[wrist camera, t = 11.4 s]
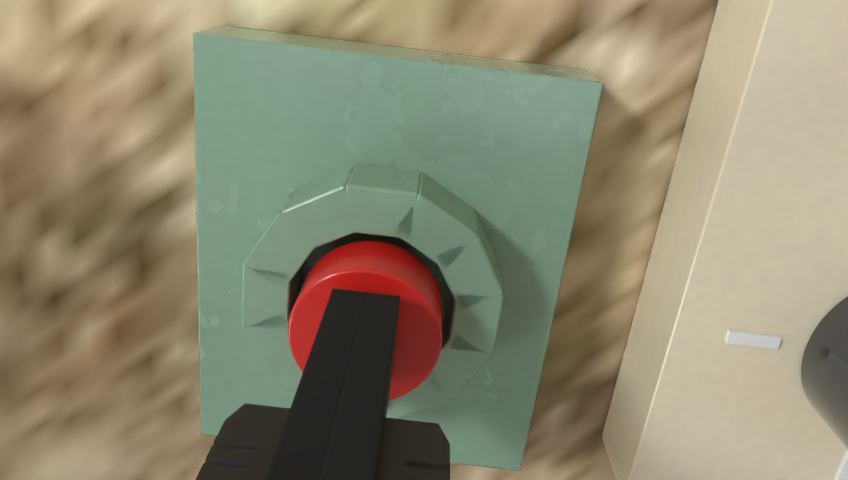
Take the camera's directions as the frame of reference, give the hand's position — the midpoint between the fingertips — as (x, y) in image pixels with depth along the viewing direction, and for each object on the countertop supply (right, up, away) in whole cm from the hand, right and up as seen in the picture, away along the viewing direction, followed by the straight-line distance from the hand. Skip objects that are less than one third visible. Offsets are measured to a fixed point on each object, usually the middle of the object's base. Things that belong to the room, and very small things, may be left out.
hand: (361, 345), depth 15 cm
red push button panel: (0, +2, +5) cm, 6 cm away
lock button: (0, +1, +2) cm, 2 cm away
